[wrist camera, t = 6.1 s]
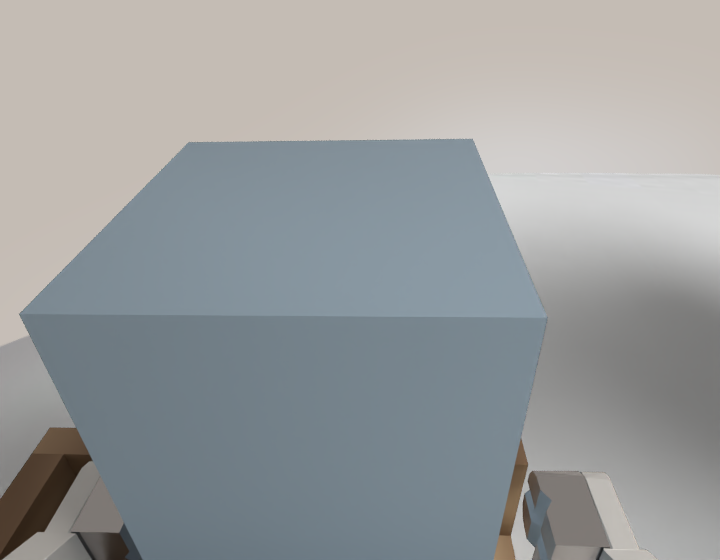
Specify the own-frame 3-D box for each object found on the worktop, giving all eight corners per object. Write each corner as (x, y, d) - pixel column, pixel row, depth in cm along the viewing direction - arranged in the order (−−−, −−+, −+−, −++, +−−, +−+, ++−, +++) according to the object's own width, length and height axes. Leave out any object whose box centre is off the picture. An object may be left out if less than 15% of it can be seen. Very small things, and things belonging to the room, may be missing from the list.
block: (427, 607, 18) (472, 138, 9) (438, 804, 14) (547, 317, 5) (289, 601, 18) (188, 142, 9) (260, 793, 14) (18, 314, 5)
